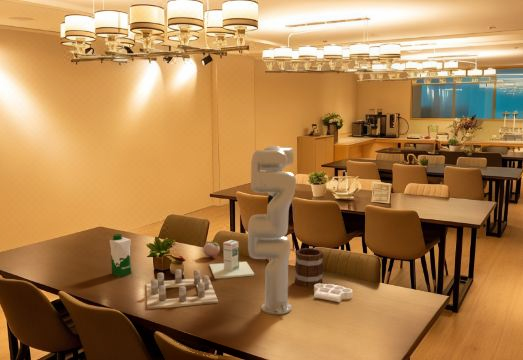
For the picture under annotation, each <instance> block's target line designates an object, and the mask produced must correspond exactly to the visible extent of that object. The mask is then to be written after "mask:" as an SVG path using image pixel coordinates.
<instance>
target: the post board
mask: <svg viewBox="0 0 523 360" xmlns="http://www.w3.org/2000/svg"><path fill="white" fill-rule="evenodd" d="M174 272H175V273H174V277H175V278H174V280H173V279H172V280H165V274H164V273H163V272H158V273H156V278H155V279H151V280H150V281H149V282H147V281H146V284H145V285H146V306H147V310H157V309H168V308H177V307H178V308H179V307H188V306H189V307H190V306H200V305H208V304H209V305H210V304H218V303H219V300H218V297H217V295H216V292H215V289H214V287H213V285H212V282H211V279H210V276H209V275H207V274H206V275H202V276H201V270H200V269H195V270H193V278H184V279H182V276H183V275H182V268H181V269H180V268H178V269H175V270H174ZM193 286H194V287H195V286H196V290H197V296H187V288H186V287H193ZM169 288H178V297H176V298H167V292H166V290H167V289H169Z"/></svg>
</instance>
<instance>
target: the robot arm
mask: <svg viewBox="0 0 523 360" xmlns="http://www.w3.org/2000/svg"><path fill="white" fill-rule="evenodd" d="M294 161H295V151H294V149H293V147H291V146H290V147H289V146H280V145H269V146H268V145H267V147H264V149H258V150H255V151H254V152H253V153H252V156H251V161H250V162H251V163H250V165H251V166H250V187H251V190H252V191H253V192H254V193H257V194H267V207H266V210H267V211H266V214H265V213H263V214H260V213H259V214H253V215H251V216H250V218H249V220H248V227H247V235H248V236H247V249H248V250H247V252H248V255H249V257H250V258H252V259H255V260H269V261H268V263H267V264H266V267H265V271H264V273H265V276H264V279H265V280H264V281H265V282H264V284H265V285H264V286H265V287H264V288H265V289H264V291H265V293H264V299H265V300H264V303H262V304H261V310H262V311H263V312H264V313H266V314H270V315H286V314H288V313H289V312H291V311H292V304H290V303H289V259H290V254H291V253H290V252H291V247H292V246H291V245H292V244H291V240H290V239H289V238H288V236H286V235H287V233H288V228H289V212H290V211H289V210H290V206H291V204H292V201H293V199H294V196H295V194H296V187H297V178H296V176H295V174H293V173H292V172H290V171H283V170H284V169H285V168H286V167H288V166H291V165H293V164H294Z"/></svg>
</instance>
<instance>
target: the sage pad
mask: <svg viewBox="0 0 523 360" xmlns="http://www.w3.org/2000/svg"><path fill="white" fill-rule="evenodd" d="M209 268H210V270H211V273H212V275H213V278H214V280H218V279H229V278H243V277H244V278H245V277H253V276H254V277H255V272H254V271H253V270H252V268H251V266H250V265H249V263H248V262H247V261H239V268H238V269H236V270H233V271H229V270H226V269H224V262H222V263H211V264H210V263H209Z"/></svg>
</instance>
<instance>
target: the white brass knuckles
mask: <svg viewBox="0 0 523 360" xmlns="http://www.w3.org/2000/svg"><path fill="white" fill-rule="evenodd" d="M313 292H314V294H313V297H314V298H315V299H321V300H326V301H330V302H335V303H341V302H342V300H351V299H353V296H354V295H353V292H354V291H353V289H351V288H348V287H344V286H343V285H336V284H333V283H328V284H327V283H325V284H324V283H322V284H321V283H319V284H315V285H314V287H313Z"/></svg>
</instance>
